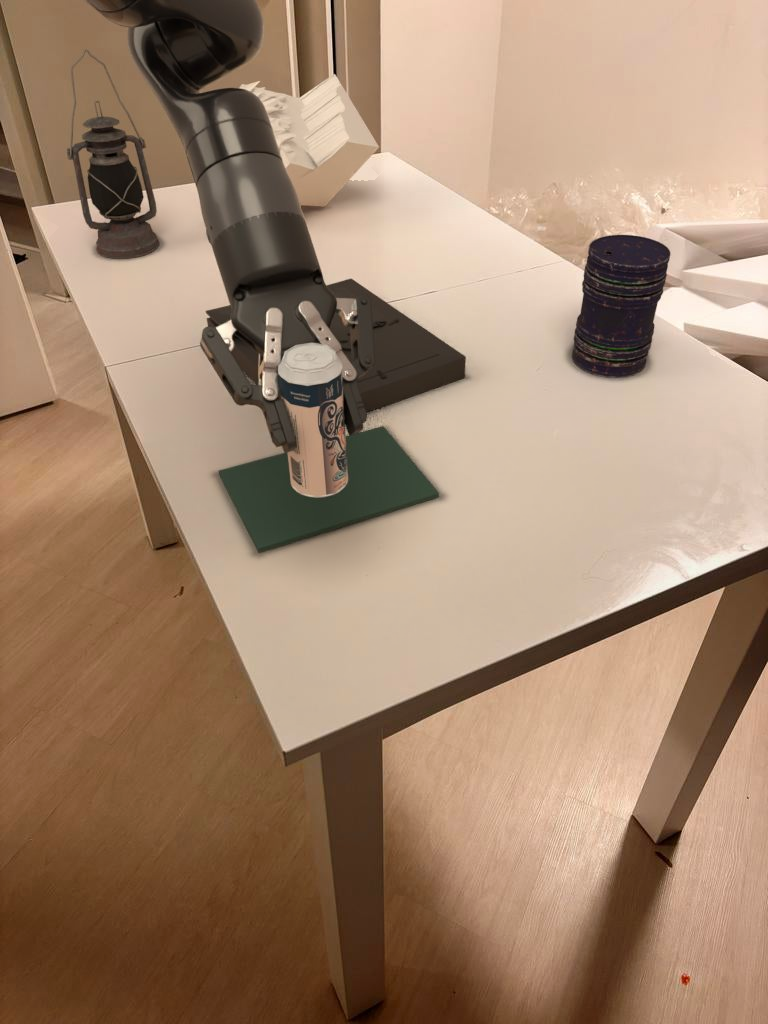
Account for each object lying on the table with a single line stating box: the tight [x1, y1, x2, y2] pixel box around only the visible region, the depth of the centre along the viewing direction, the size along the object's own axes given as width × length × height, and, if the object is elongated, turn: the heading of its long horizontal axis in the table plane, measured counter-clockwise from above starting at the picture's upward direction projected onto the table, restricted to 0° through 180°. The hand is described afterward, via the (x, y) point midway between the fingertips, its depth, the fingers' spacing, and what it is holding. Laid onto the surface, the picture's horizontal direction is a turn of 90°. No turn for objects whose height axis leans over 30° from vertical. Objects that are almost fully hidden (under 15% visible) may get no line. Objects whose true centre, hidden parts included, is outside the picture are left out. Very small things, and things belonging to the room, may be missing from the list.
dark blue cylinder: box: [571, 234, 672, 379], centre depth 102 cm, size 10×10×15 cm
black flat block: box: [205, 278, 467, 414], centre depth 107 cm, size 23×4×28 cm
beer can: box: [278, 343, 348, 498], centre depth 63 cm, size 5×5×12 cm
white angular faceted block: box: [239, 73, 380, 207], centre depth 142 cm, size 20×16×25 cm
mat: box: [218, 425, 440, 553], centre depth 87 cm, size 20×14×1 cm
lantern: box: [66, 49, 160, 260], centre depth 129 cm, size 12×11×30 cm
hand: (324, 440), depth 62 cm, fingers closed on beer can, 4 cm apart
